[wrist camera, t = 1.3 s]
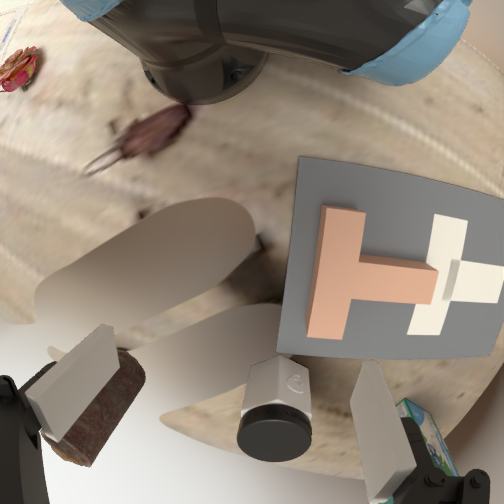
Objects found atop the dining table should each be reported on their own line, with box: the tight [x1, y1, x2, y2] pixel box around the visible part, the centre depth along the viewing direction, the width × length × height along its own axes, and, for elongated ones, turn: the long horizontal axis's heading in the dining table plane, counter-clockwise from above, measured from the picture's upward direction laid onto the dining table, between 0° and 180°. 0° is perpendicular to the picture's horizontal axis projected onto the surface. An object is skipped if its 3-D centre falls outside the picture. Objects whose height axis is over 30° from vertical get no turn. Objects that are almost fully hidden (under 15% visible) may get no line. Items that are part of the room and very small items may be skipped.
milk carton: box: [380, 398, 459, 504], centre depth 26 cm, size 9×9×25 cm
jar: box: [237, 355, 312, 462], centre depth 32 cm, size 9×8×12 cm
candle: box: [40, 349, 146, 467], centre depth 31 cm, size 8×7×20 cm
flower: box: [0, 46, 41, 92], centre depth 28 cm, size 10×9×8 cm
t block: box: [305, 205, 439, 340], centre depth 31 cm, size 14×14×4 cm
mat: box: [276, 156, 504, 360], centre depth 32 cm, size 24×36×1 cm, turn 85°
